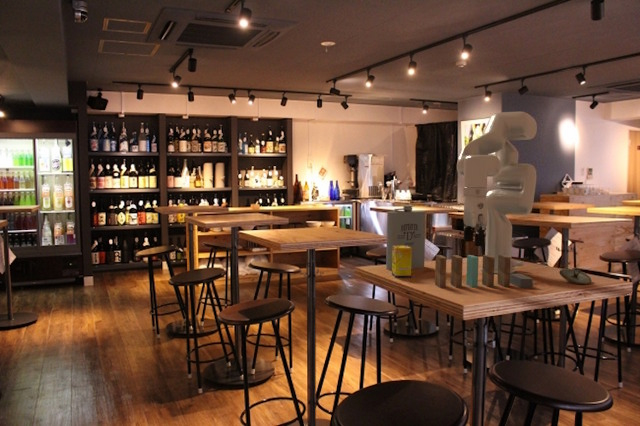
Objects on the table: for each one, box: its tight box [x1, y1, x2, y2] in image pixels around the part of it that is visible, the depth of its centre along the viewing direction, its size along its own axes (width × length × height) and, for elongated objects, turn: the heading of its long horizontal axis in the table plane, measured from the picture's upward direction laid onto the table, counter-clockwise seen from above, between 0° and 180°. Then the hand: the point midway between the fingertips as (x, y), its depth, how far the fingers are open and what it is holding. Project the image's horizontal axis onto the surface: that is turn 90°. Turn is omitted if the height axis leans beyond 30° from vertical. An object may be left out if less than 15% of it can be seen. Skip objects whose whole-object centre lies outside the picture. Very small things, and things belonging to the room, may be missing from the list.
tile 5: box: [496, 255, 512, 288], centre depth 178 cm, size 2×5×10 cm, turn 5°
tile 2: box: [450, 254, 464, 289], centre depth 177 cm, size 2×5×10 cm, turn 5°
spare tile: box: [465, 254, 479, 288], centre depth 177 cm, size 2×5×10 cm, turn 5°
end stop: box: [510, 273, 534, 289], centre depth 179 cm, size 4×9×3 cm, turn 5°
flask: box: [385, 204, 427, 271], centre depth 208 cm, size 17×5×25 cm, turn 117°
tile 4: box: [481, 254, 495, 288], centre depth 178 cm, size 2×5×10 cm, turn 5°
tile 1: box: [434, 254, 447, 289], centre depth 176 cm, size 2×5×10 cm, turn 5°
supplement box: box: [391, 246, 412, 279], centre depth 192 cm, size 6×6×11 cm
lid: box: [559, 268, 593, 286], centre depth 185 cm, size 11×10×5 cm
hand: (473, 243), depth 177 cm, fingers open, 9 cm apart
